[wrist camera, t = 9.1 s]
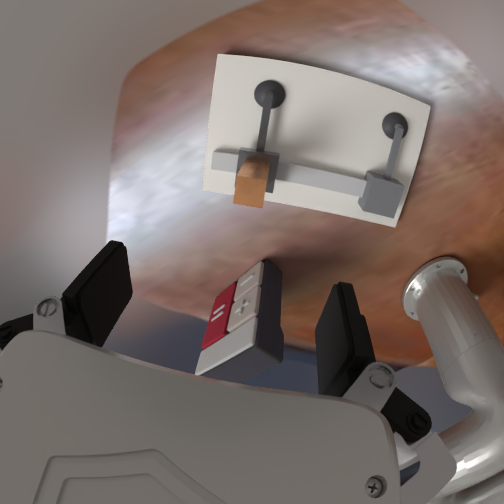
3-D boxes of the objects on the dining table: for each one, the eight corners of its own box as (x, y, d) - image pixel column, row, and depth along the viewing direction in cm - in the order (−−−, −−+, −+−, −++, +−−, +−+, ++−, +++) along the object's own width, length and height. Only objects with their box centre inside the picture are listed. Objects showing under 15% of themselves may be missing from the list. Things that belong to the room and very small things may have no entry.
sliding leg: (289, 94, 24) (293, 92, 17) (273, 187, 30) (270, 218, 23) (250, 88, 24) (238, 84, 17) (237, 180, 30) (222, 210, 23)
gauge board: (424, 105, 24) (441, 108, 21) (391, 222, 33) (401, 237, 29) (220, 55, 24) (212, 50, 21) (205, 186, 33) (196, 198, 29)
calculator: (263, 254, 37) (251, 342, 24) (285, 273, 38) (283, 362, 26) (213, 296, 42) (188, 377, 29) (234, 311, 43) (217, 393, 31)
